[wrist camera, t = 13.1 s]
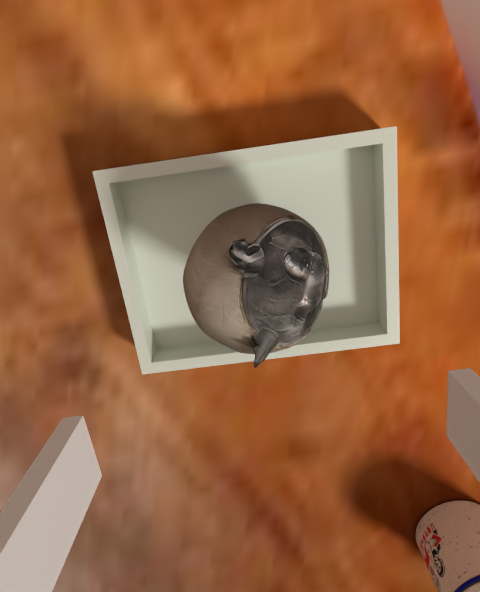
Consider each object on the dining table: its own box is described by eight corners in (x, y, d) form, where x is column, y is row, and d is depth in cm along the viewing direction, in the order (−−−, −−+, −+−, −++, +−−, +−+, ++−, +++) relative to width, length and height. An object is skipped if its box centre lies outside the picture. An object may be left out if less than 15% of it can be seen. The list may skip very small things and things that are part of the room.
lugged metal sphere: (337, 273, 36) (276, 166, 33) (382, 335, 25) (296, 181, 22) (237, 330, 38) (170, 234, 35) (237, 412, 27) (138, 281, 23)
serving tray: (150, 355, 39) (142, 374, 36) (107, 169, 34) (92, 171, 31) (386, 326, 38) (399, 343, 35) (381, 128, 33) (396, 126, 29)
